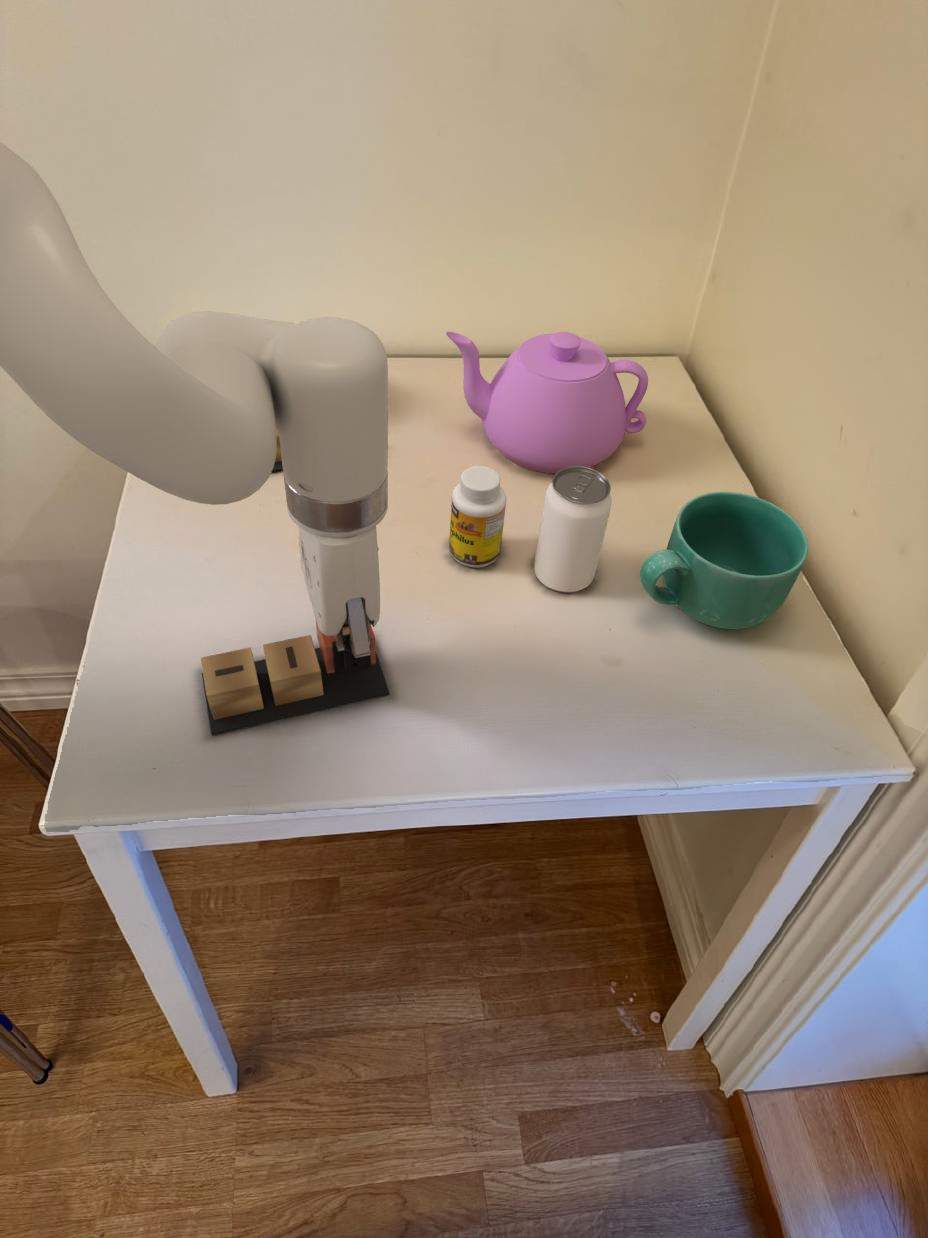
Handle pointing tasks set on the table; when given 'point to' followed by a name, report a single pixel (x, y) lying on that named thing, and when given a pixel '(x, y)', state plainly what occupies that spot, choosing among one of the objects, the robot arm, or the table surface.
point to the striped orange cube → (327, 648)
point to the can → (572, 528)
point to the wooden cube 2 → (293, 670)
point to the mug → (728, 560)
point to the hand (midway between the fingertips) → (345, 646)
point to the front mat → (335, 694)
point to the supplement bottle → (477, 517)
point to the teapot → (553, 401)
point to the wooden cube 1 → (231, 683)
